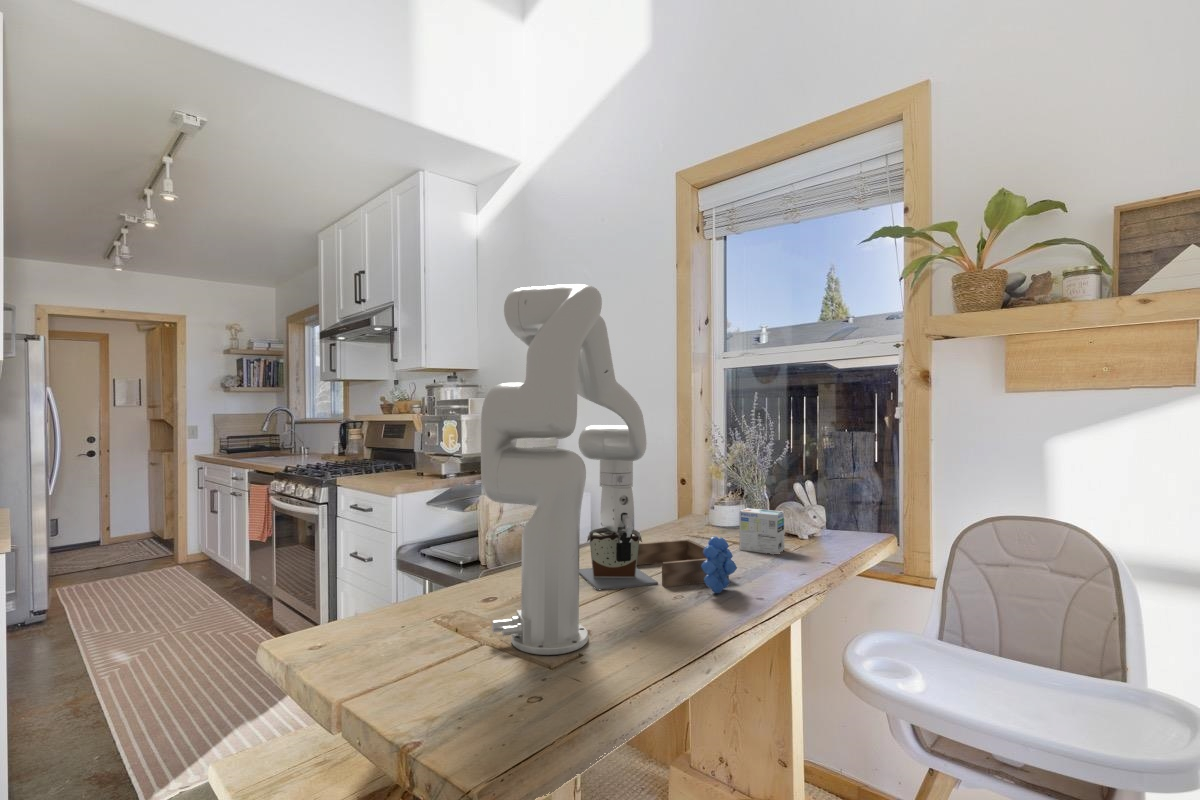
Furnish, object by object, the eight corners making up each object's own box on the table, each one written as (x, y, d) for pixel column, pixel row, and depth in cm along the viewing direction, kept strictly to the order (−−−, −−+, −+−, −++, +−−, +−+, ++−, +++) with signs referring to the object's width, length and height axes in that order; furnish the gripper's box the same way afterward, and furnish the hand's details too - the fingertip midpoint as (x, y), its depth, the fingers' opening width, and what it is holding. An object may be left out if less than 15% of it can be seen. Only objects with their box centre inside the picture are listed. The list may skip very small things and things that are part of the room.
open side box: (663, 586, 127) (664, 563, 127) (630, 564, 145) (630, 543, 145) (728, 580, 132) (728, 557, 132) (688, 559, 150) (688, 539, 150)
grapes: (725, 604, 116) (725, 543, 116) (694, 598, 120) (694, 538, 120) (747, 590, 125) (748, 533, 125) (718, 584, 129) (718, 529, 129)
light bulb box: (785, 550, 160) (785, 510, 160) (778, 555, 155) (778, 514, 155) (746, 545, 166) (746, 506, 166) (738, 550, 160) (738, 510, 160)
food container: (640, 569, 138) (640, 526, 138) (641, 577, 132) (642, 533, 132) (587, 569, 138) (587, 526, 138) (586, 577, 132) (586, 532, 132)
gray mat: (597, 590, 124) (597, 588, 124) (576, 571, 138) (576, 569, 138) (657, 584, 129) (657, 582, 129) (631, 566, 143) (631, 564, 143)
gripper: (647, 483, 127) (646, 564, 127) (617, 475, 143) (617, 546, 143) (614, 485, 124) (613, 566, 124) (588, 476, 141) (587, 548, 140)
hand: (615, 555), depth 133 cm, fingers open, 9 cm apart
